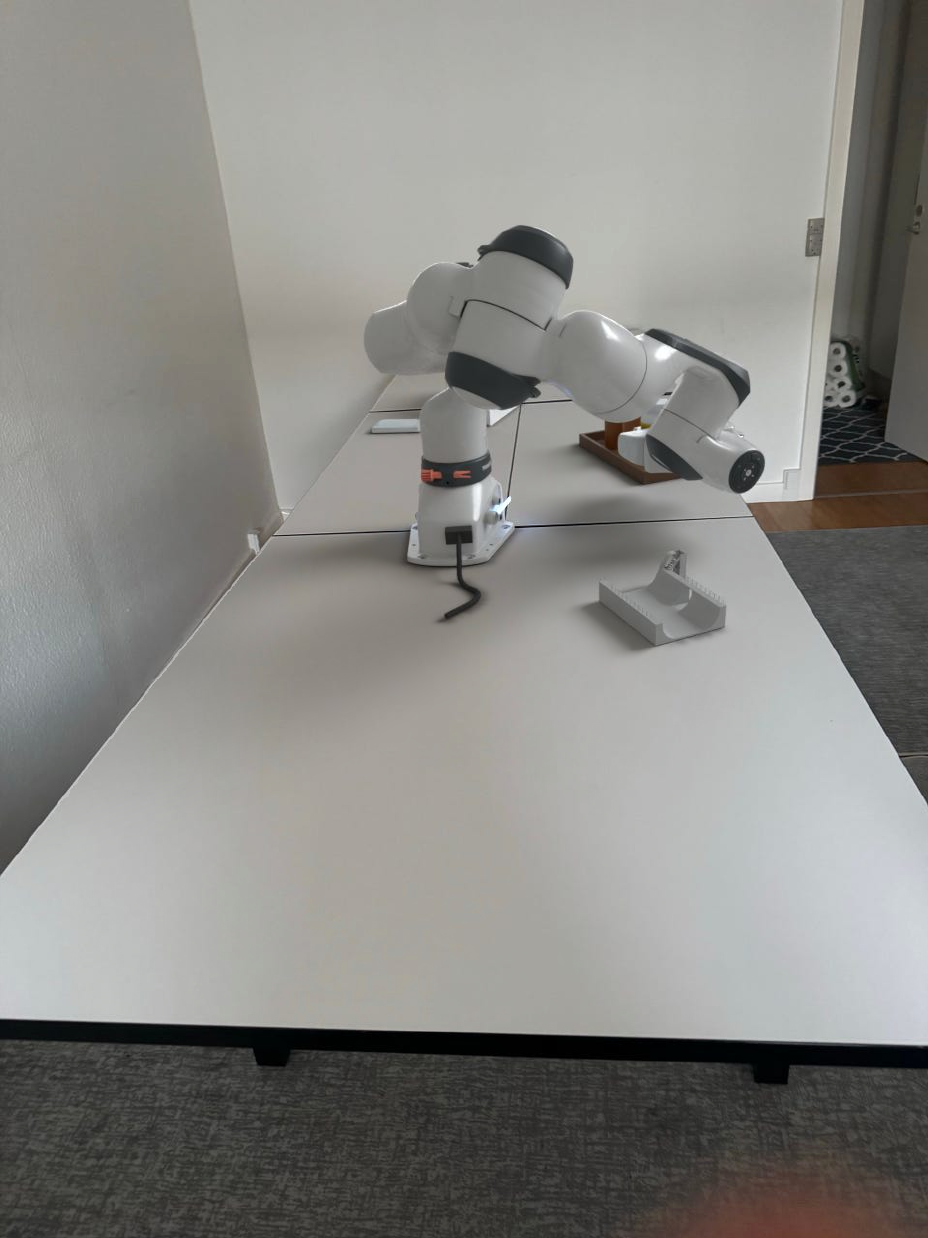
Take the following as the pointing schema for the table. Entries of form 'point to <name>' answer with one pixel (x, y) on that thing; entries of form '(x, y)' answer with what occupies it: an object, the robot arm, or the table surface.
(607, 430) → the amber bottle far
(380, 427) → the hard drive
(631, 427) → the amber bottle middle
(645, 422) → the pill bottle
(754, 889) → the table surface
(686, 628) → the grey plastic cradle
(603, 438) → the tray
